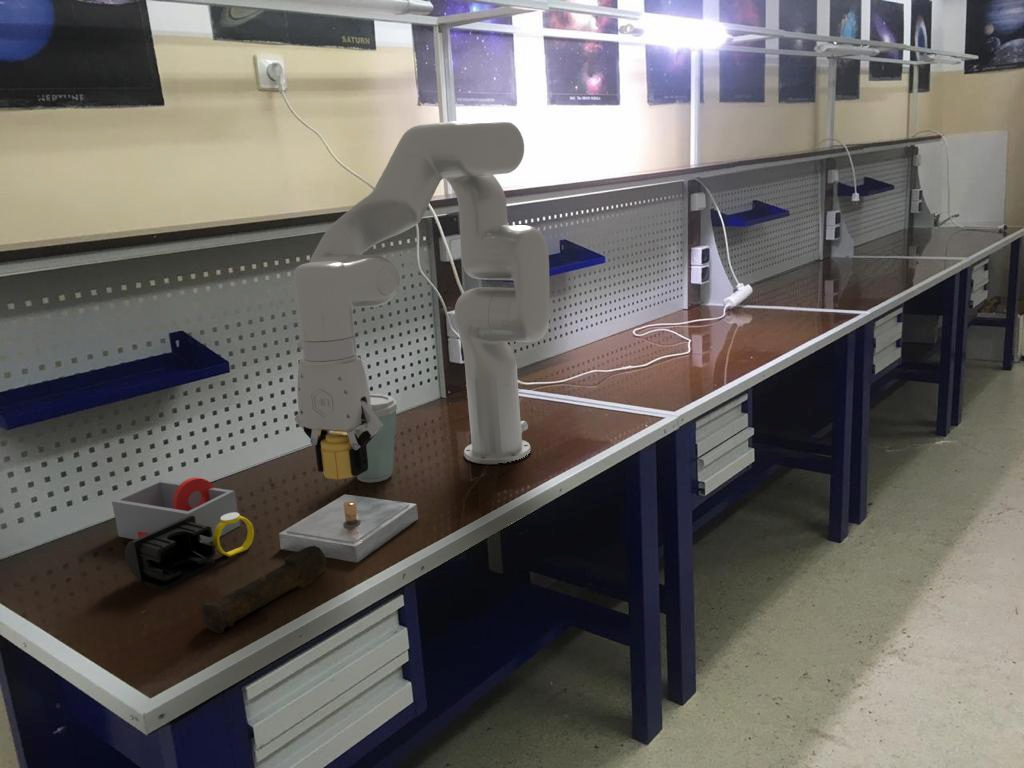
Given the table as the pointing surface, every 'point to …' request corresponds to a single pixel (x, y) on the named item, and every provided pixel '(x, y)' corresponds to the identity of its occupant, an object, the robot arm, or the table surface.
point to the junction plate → (350, 527)
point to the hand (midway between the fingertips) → (343, 469)
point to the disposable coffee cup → (381, 440)
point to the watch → (231, 519)
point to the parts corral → (170, 509)
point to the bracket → (186, 490)
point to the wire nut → (336, 455)
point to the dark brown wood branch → (265, 589)
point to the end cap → (170, 554)
